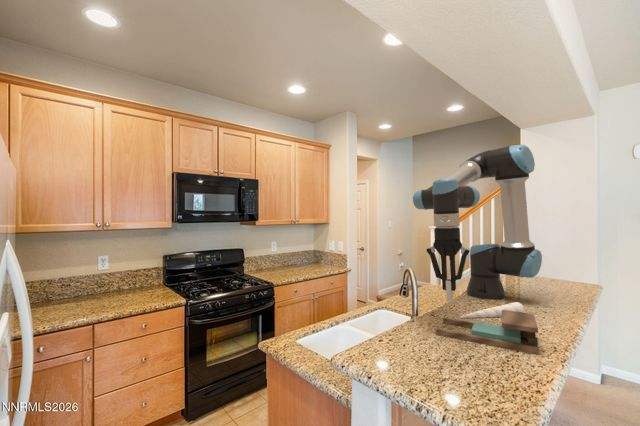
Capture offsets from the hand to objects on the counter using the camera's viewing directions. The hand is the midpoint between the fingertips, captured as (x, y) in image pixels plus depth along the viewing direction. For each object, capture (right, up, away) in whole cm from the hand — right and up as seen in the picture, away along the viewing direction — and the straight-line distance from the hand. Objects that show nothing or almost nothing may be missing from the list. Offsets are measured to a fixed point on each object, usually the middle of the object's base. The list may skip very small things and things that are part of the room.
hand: (449, 300), depth 92 cm
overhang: (+8, -9, -5) cm, 13 cm away
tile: (+11, -9, -7) cm, 16 cm away
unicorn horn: (+20, -10, +11) cm, 25 cm away
